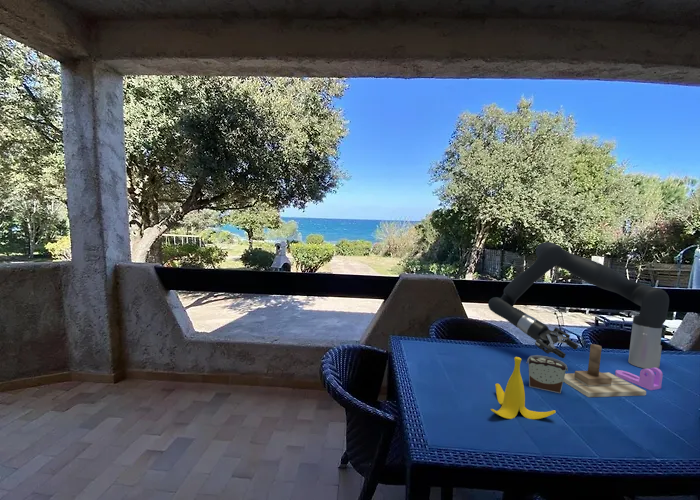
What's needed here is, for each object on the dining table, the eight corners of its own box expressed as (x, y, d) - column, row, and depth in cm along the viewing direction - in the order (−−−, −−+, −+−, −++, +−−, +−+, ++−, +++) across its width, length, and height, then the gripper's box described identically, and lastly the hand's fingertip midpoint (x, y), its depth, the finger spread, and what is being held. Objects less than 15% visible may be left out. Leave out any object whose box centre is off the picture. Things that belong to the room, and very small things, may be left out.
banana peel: (496, 392, 112) (500, 343, 111) (556, 422, 96) (562, 365, 95) (464, 404, 103) (468, 352, 102) (523, 440, 87) (529, 378, 86)
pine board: (608, 376, 128) (609, 372, 128) (645, 395, 114) (646, 391, 114) (556, 377, 125) (557, 373, 125) (588, 397, 111) (588, 392, 111)
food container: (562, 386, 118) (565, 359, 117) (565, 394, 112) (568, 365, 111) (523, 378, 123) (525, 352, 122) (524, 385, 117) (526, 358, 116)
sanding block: (596, 377, 122) (600, 342, 121) (611, 385, 116) (615, 348, 115) (574, 378, 121) (577, 342, 120) (587, 386, 115) (591, 349, 114)
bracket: (660, 389, 119) (663, 370, 119) (650, 390, 118) (652, 371, 117) (621, 372, 132) (623, 355, 131) (611, 374, 130) (613, 357, 129)
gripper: (523, 326, 136) (563, 352, 123) (544, 314, 142) (584, 337, 130) (519, 340, 139) (557, 366, 127) (539, 327, 146) (578, 351, 134)
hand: (571, 352), depth 129 cm, fingers open, 8 cm apart
